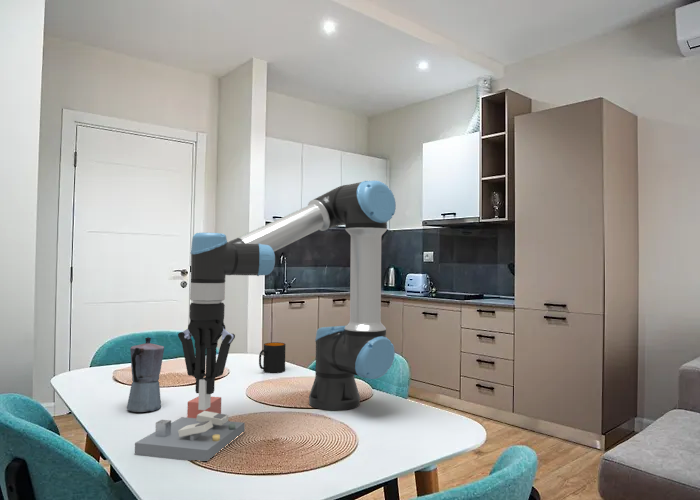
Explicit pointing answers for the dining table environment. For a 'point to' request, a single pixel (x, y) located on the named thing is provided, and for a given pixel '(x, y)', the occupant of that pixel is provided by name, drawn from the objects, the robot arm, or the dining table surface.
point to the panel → (189, 441)
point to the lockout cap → (193, 410)
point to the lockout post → (163, 428)
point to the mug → (273, 358)
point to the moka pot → (145, 377)
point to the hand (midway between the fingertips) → (204, 408)
